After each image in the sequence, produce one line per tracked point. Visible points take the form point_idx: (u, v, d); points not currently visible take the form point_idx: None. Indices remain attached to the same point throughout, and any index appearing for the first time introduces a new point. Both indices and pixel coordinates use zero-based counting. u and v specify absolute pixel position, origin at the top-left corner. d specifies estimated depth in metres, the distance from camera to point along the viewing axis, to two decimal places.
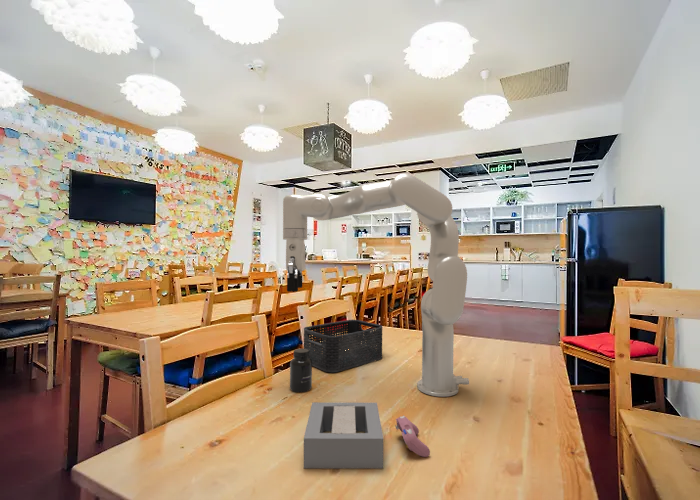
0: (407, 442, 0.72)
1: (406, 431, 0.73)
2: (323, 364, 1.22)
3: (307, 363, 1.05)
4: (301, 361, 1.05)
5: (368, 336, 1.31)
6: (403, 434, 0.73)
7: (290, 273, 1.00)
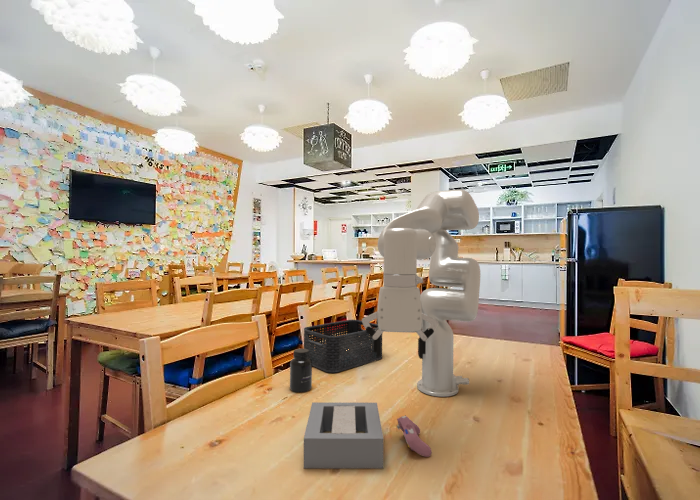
0: (409, 442, 0.72)
1: (408, 431, 0.73)
2: (324, 364, 1.22)
3: (307, 363, 1.05)
4: (301, 361, 1.05)
5: (368, 336, 1.31)
6: (405, 434, 0.73)
7: None
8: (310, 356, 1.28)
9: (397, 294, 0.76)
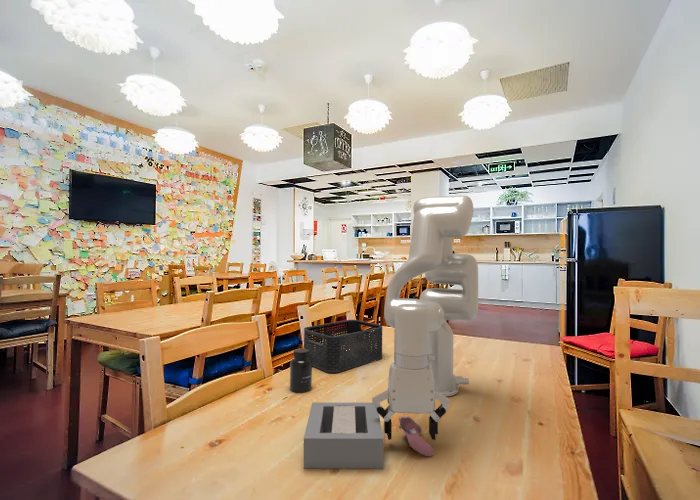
0: (411, 442, 0.72)
1: (410, 431, 0.73)
2: (324, 364, 1.22)
3: (307, 363, 1.05)
4: (301, 361, 1.05)
5: (368, 336, 1.32)
6: (407, 434, 0.73)
7: None
8: (310, 356, 1.28)
9: (409, 375, 0.74)
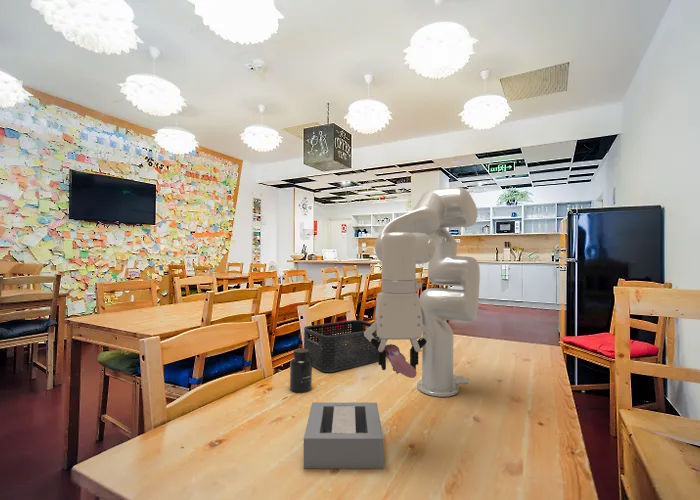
0: (394, 362, 0.72)
1: (393, 353, 0.73)
2: (320, 364, 1.23)
3: (307, 363, 1.05)
4: (301, 361, 1.05)
5: None
6: (390, 355, 0.73)
7: None
8: (309, 355, 1.29)
9: (397, 300, 0.74)
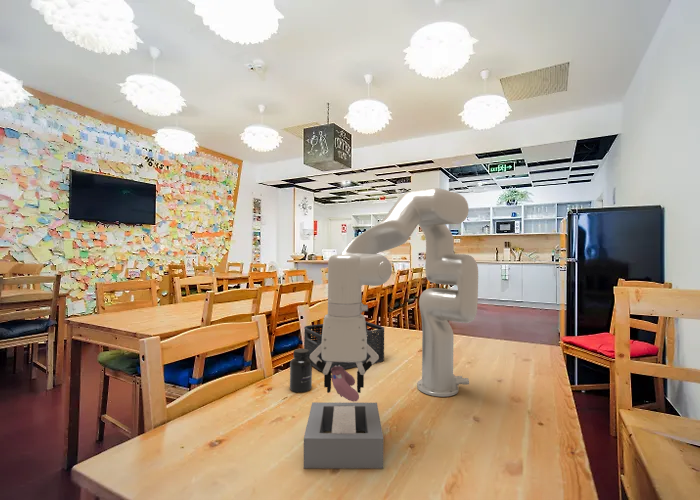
0: (335, 386, 0.72)
1: (336, 376, 0.73)
2: None
3: (307, 363, 1.05)
4: (301, 361, 1.05)
5: (367, 337, 1.29)
6: (332, 379, 0.73)
7: None
8: None
9: (340, 323, 0.74)
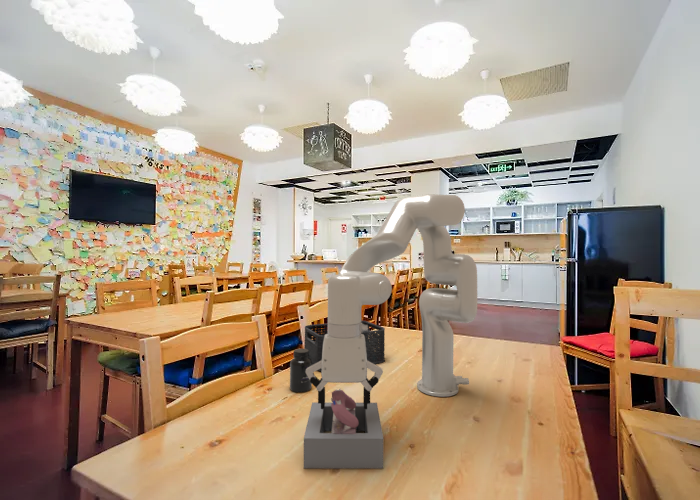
0: (335, 412, 0.72)
1: (335, 402, 0.74)
2: (315, 362, 1.24)
3: (307, 363, 1.05)
4: (301, 361, 1.05)
5: (366, 338, 1.29)
6: (332, 405, 0.73)
7: None
8: None
9: (340, 344, 0.74)
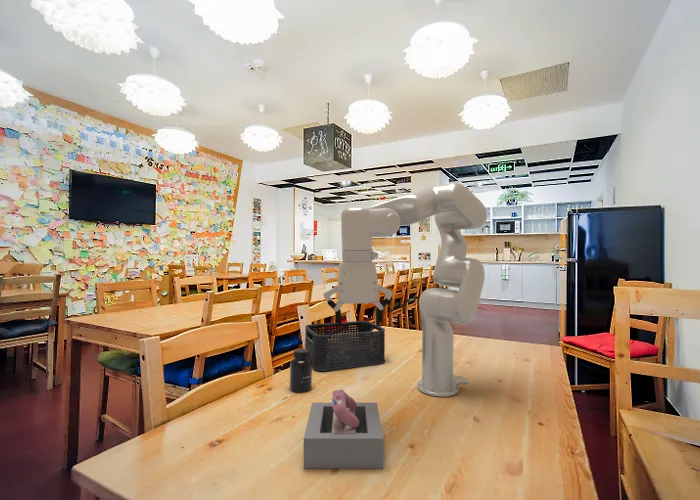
0: (336, 412, 0.72)
1: (336, 402, 0.74)
2: (313, 362, 1.24)
3: (307, 363, 1.05)
4: (301, 361, 1.05)
5: (364, 339, 1.28)
6: (333, 404, 0.73)
7: None
8: None
9: (354, 268, 0.83)
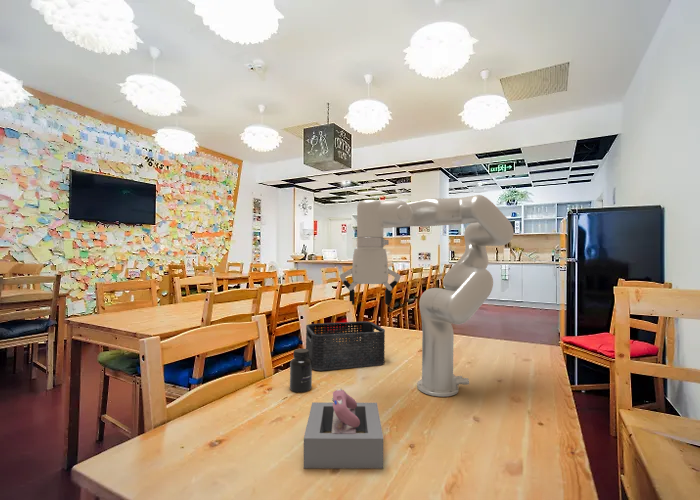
0: (336, 412, 0.72)
1: (337, 402, 0.74)
2: None
3: (307, 363, 1.05)
4: (301, 361, 1.05)
5: (363, 339, 1.27)
6: (333, 404, 0.73)
7: None
8: None
9: (368, 253, 0.95)
